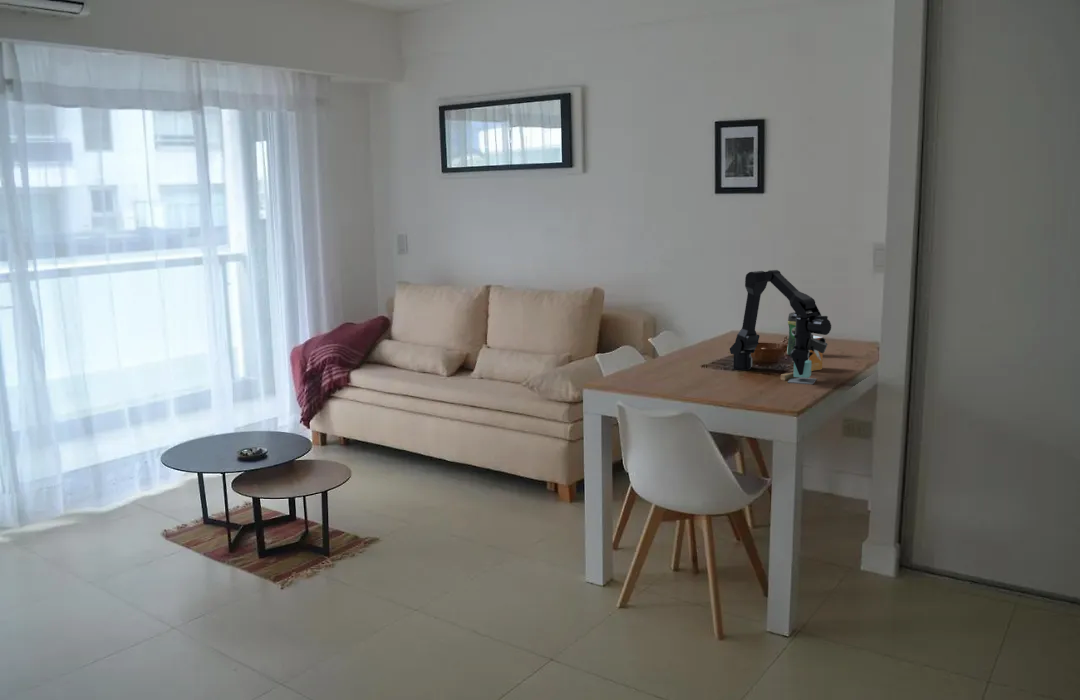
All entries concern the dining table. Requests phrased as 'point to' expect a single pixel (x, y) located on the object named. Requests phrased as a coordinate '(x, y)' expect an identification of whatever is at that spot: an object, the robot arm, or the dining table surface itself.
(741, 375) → the dining table surface
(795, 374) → the teal block
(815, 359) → the small box
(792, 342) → the coffee jar
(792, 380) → the coaster
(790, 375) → the tan bar
